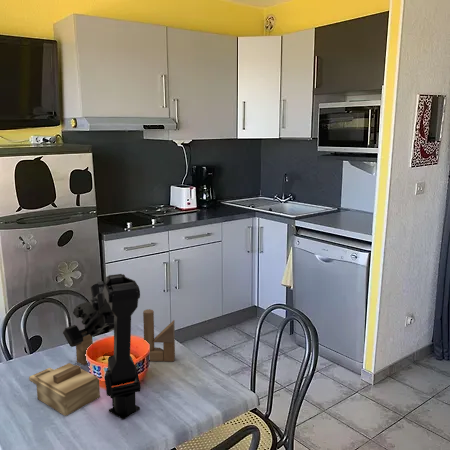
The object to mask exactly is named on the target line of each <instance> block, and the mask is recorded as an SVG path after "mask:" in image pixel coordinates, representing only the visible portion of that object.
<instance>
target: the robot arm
mask: <svg viewBox="0 0 450 450" xmlns="http://www.w3.org/2000/svg"><path fill="white" fill-rule="evenodd" d="M89 289H90V293H91V298H90V299H89V301H86V302H83V303H80V304H78V305H77V306H75V307H74V308H73V311H72V314H73V315H74V317H75V318H76V319H79V318H80V319H81V320H82V321H81V324H82V325H84V328H83V329H80V328H79V327H78V325H76V324H73V325H70V326H67V327H65V328H64V330H63V331H62V335H63V336H64V337H65V339H66V341H67V344H68V345H69V346H70V347H71V348H73V347H76V346H77V345H79V344H81V343H82V342H83V337H85V336H87V335H91V336H92V338H93V337H97V336H101V335H104V334H108V333H109V332H112V331H113V355H109V356H108V357H107V370H105V374H104V383H105V384H104V385H105V390H106V393H105V394H106V396H107V397H110V399H112V400H111V403H112V407H111V408H109V409H108V412H109V413H110V414H112V415H113V416H116V417H118V418H120V419H121V420H125V419H127V418H128V417H130V416H132V415H133V414H135V413H136V412H138V411H140V410H141V407H140V406H138V405H137V403H136V402H137V401H136V393H137V392H138V393H140V392H141V389H142V388H141V386H142V385H141V382H140V378H139V373H138V369H137V365H136V364H135V362H134V360H133V357H132V356H131V344H132V343H131V341H132V340H131V337H132V336H131V335H132V334H131V333H132V332H131V331H132V315H133V314H134V313H135V311H136V310H137V309H138V306H139V299H141V290H140V286H139V285H138V284H137V282H136V280H134V279H131V278H130V277H126V276H125V274H122V273H117V274H109V275H108V276H105V282H104V281H103V280H101V281H97V282H96V283H95V284H93V285H91V286H90V288H89Z"/></svg>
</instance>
